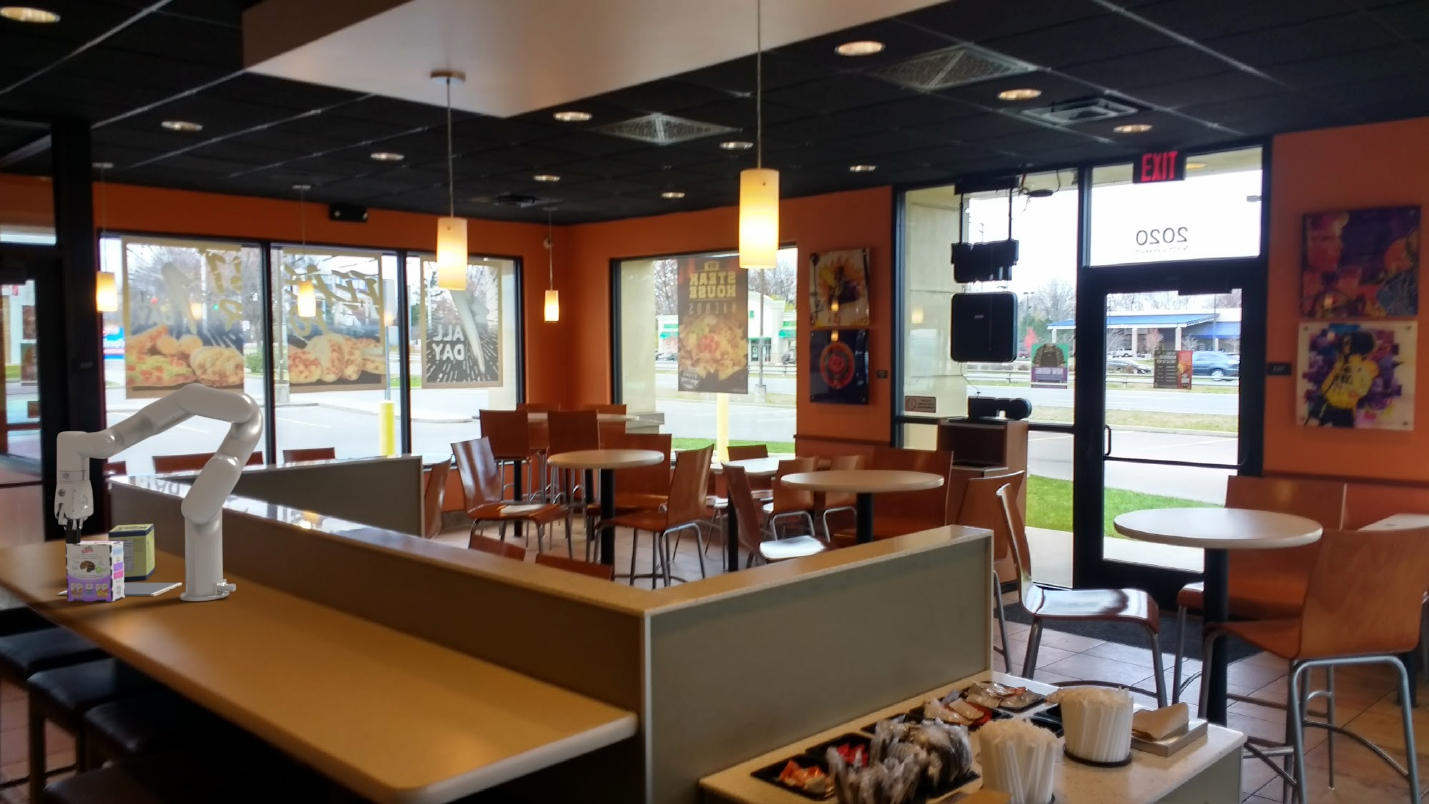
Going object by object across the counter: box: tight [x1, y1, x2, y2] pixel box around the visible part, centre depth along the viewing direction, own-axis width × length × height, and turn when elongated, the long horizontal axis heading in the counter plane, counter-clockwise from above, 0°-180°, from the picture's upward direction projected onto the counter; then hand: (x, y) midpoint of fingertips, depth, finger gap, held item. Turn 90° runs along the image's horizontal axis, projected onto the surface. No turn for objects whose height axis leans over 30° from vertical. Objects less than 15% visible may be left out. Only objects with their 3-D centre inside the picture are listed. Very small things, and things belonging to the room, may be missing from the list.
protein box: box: [107, 523, 156, 582], centre depth 324 cm, size 10×16×16 cm
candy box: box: [64, 540, 126, 603], centre depth 293 cm, size 14×6×16 cm, turn 84°
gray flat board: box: [57, 582, 183, 597], centre depth 305 cm, size 28×15×1 cm, turn 89°
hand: (73, 543), depth 284 cm, fingers closed
